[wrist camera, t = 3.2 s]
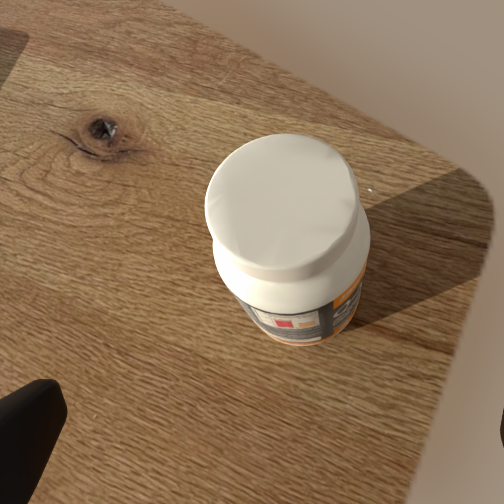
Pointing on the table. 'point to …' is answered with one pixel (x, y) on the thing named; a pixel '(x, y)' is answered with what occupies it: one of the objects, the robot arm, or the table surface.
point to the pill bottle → (290, 236)
